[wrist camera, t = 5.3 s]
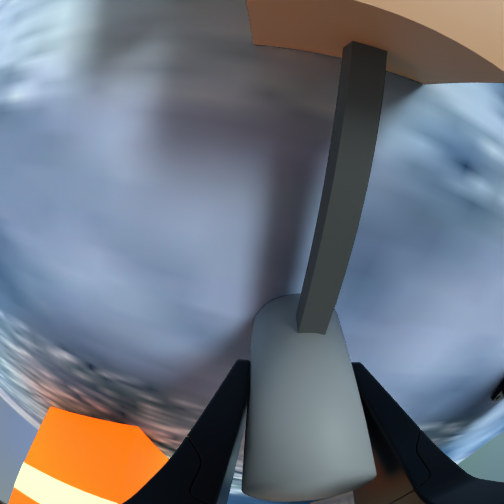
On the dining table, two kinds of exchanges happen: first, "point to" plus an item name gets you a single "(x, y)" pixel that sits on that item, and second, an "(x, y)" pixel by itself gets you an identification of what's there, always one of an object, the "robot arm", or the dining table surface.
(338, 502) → the incense holder
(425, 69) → the block
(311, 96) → the dining table surface
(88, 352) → the dining table surface
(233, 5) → the dining table surface
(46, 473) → the orange juice
